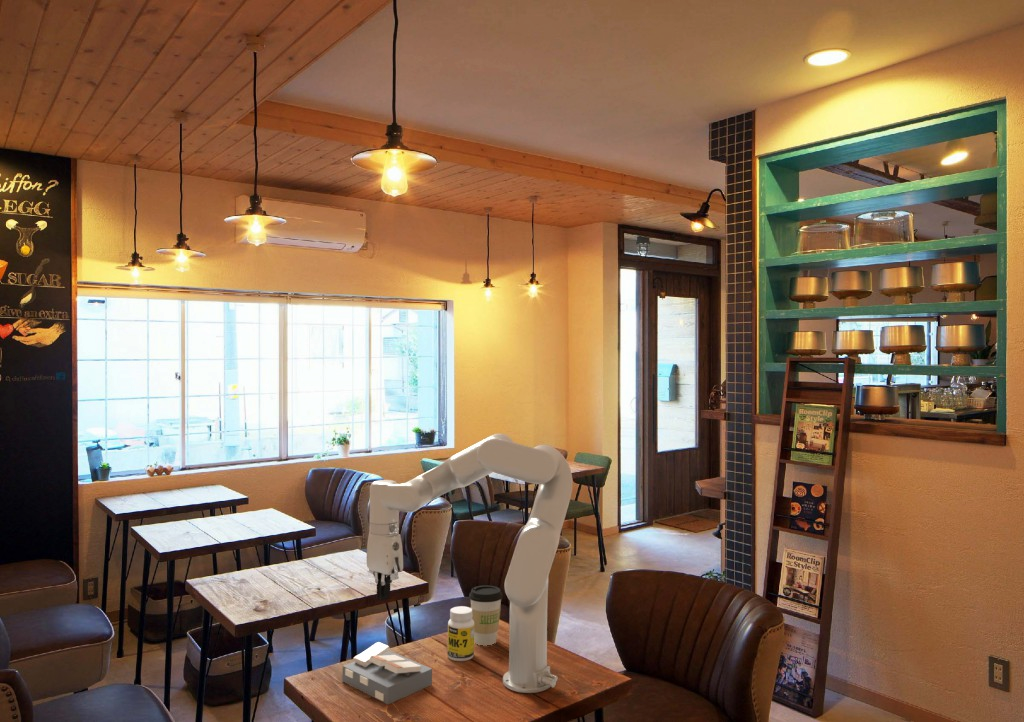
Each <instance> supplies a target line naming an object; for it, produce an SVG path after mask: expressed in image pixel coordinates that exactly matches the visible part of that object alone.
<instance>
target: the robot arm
mask: <svg viewBox="0 0 1024 722" xmlns="http://www.w3.org/2000/svg"><path fill="white" fill-rule="evenodd" d="M493 473H494V474H496V475H497V474H498V475H501V476H504V477H507V478H511V479H515V480H519V481H522V482H525V483H528V484H534V485H538V489H537V492H536V495H535V498H534V502H533V505H532V509H531V511H530V515H529V518H528V520H527V522H526V524H525V525H524V527H523V529H522V530H521V532H520V534H519V536H518V539H517V542H516V545H515V547H514V551H513V555H512V558H511V560H510V563H509V564H510V565H509V567H508V570H507V572H506V573H507V574H506V575H505V579H504V593H505V595H506V596H507V597H506V598H507V599H508V600H509V620H508V621H509V626H508V627H509V633H508V634H509V635H508V636H509V637H508V638H509V639H508V640H509V641H508V643H509V644H508V650H509V651H508V652H509V653H508V655H509V656H508V671H507V672H505V673H504V674H503V675H502V684H503V685H504V687H505V688H507V689H509V690H511V691H513V692H517V693H521V694H522V693H524V694H535V693H540V692H544V691H546V690H548V689H550V688H555V687H556V685H557V681H558V680H559V677H558V675H557V674H552V673H551V666H550V665H547V664H548V661H547V660H548V659H547V658H548V652H547V651H548V630H547V629H548V597H549V596H548V595H549V594H548V593H549V592H548V591H549V574H550V571H551V568H552V565H553V563H554V559H555V556H556V553H557V550H558V547H559V543H560V538H561V537H560V536H561V532H562V529H563V525H564V522H565V518H566V515H567V511H568V508H569V504H570V501H571V497H572V493H573V475H572V471H571V467H570V465H569V463H568V461H567V459H566V458H565V457H564V455H563V454H562V453H561V452H560V451H559V450H558V449H557V448H555V447H554V446H551V445H549V444H539V445H536V446H535V447H531V446H528V445H523V444H521V443H517V442H514V441H513V439H512V437H510V436H509V435H507V434H505V433H494V434H492V435H489V436H488V437H485V438H484V439H482V440H480V441H478V442H476V443H475V444H473V445H471V446H469V447H467V448H465V449H463V450H461V451H459V452H457V453H456V454H454V455H451V456H450V457H449V458H447V459H446V460H445V461H444V462H442V463H441V464H439V465H437V466H435V467H433V468H432V469H430V470H427V471H426V472H424V473H422V474H420V475H417V476H416V477H414V478H412V479H410V480H408V481H406V482H402V483H398V482H397V481H395V480H392V479H380V480H379V479H378V480H375V481H372V482H371V484H370V486H369V526H368V527H369V533H368V537H367V546H366V567H367V569H368V571H369V573H371V574H372V575H373V577H374V583H375V584H376V600H377V601H378V600H379V601H385V600H388V599H390V598H391V584H392V583H393V581H396V580H399V573H401V572H403V570H404V552H403V543H402V537H401V534H399V531H400V529H399V524H400V516H399V515H400V514H399V513H400V512H403V513H414V512H417V511H418V510H420V509H421V508H423V506H425V505H427V504H429V503H430V502H432V501H433V500H435V499H437V498H439V497H441V496H443V495H444V494H445V495H446V494H448V493H449V492H451V491H453V490H455V489H458V488H459V489H460V488H465V487H467V486H470V485H472V484H473V483H475V482H477V481H479V480H481V479H482V478H485V477H486V476H489V475H490V474H493Z"/></svg>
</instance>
